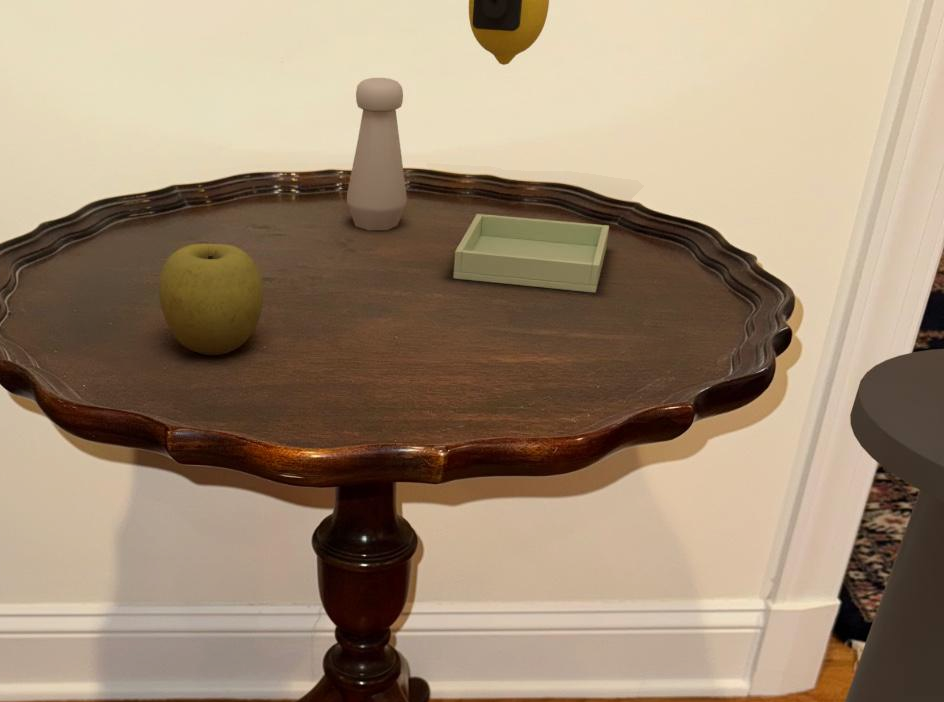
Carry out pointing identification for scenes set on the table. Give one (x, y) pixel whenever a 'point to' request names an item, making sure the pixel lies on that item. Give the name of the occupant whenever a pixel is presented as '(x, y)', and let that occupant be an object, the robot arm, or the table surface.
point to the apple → (211, 297)
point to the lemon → (516, 41)
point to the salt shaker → (377, 158)
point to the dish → (532, 252)
